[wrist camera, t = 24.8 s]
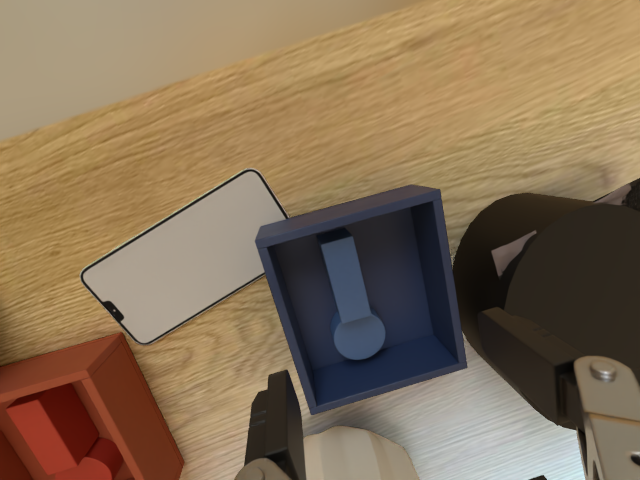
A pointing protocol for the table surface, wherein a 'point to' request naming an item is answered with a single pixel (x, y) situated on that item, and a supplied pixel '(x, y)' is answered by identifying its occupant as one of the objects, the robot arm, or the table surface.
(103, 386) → the terracotta bin
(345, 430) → the vase
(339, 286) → the blue spoon
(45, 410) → the red spoon
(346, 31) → the table surface
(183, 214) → the smartphone
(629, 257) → the black oval cylinder
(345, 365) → the navy bin
